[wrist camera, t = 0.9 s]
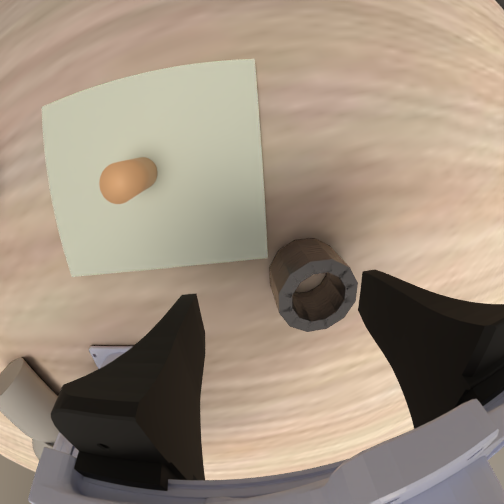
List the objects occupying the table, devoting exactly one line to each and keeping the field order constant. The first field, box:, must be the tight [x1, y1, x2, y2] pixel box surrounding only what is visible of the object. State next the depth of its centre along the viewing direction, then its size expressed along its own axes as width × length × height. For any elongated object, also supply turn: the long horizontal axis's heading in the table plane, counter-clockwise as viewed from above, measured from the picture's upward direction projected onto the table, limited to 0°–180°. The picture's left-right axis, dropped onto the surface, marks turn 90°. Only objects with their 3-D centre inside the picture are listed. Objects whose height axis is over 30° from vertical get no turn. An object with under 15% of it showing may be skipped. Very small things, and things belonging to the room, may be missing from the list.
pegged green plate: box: [42, 59, 268, 277], centre depth 15 cm, size 14×16×6 cm
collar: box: [269, 238, 358, 332], centre depth 20 cm, size 6×6×4 cm
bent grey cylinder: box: [0, 358, 59, 460], centre depth 23 cm, size 18×10×20 cm
